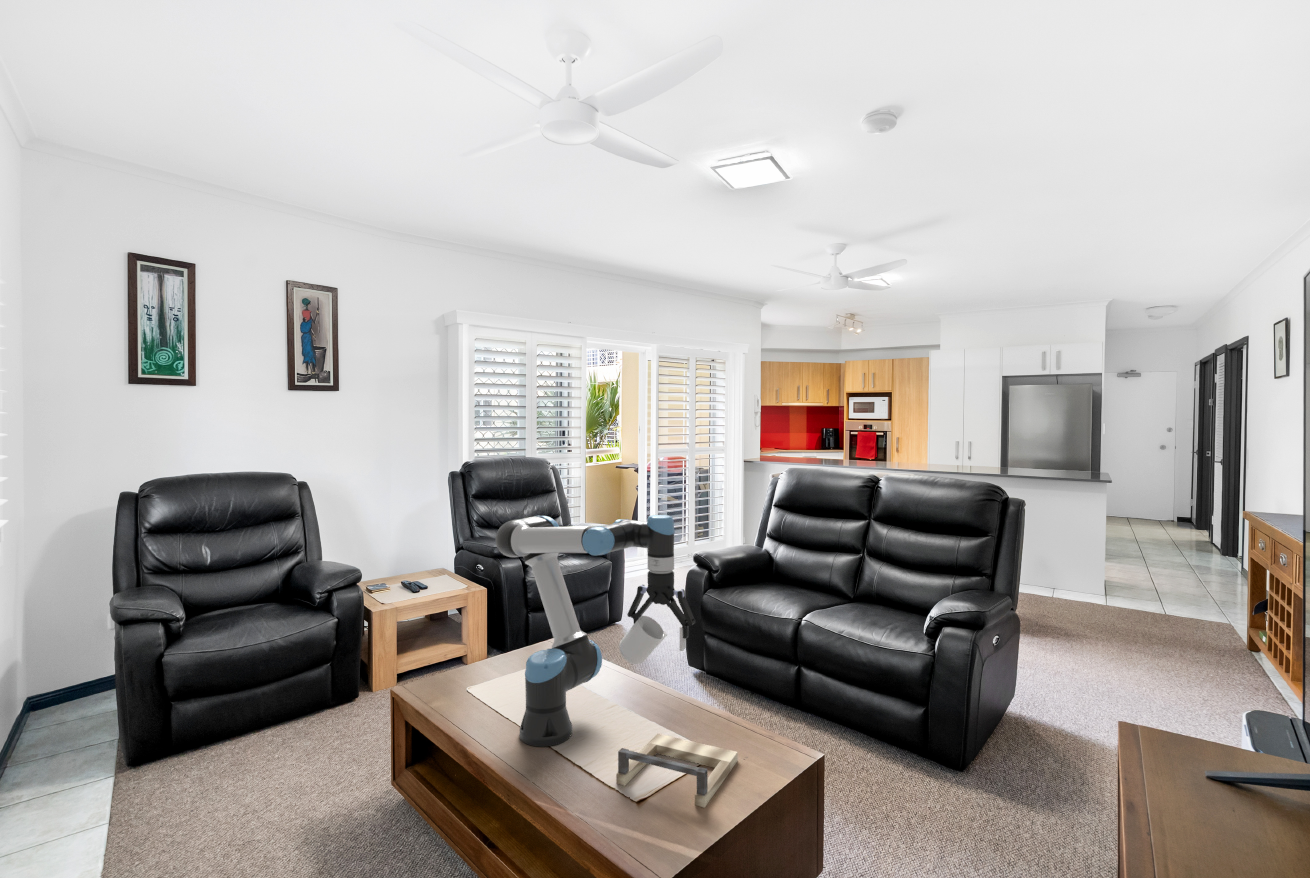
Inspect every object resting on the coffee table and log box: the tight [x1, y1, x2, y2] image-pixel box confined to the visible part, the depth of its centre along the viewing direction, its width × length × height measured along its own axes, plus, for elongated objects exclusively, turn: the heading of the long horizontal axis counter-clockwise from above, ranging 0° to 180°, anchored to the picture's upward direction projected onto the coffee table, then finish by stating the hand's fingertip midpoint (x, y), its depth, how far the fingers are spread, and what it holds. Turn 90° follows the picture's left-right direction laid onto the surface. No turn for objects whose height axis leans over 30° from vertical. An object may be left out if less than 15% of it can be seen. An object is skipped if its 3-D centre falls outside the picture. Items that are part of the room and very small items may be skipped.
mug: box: [618, 615, 668, 665], centre depth 185 cm, size 12×9×11 cm
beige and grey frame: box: [615, 733, 739, 809], centre depth 169 cm, size 24×24×8 cm
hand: (660, 645), depth 182 cm, fingers open, 13 cm apart
